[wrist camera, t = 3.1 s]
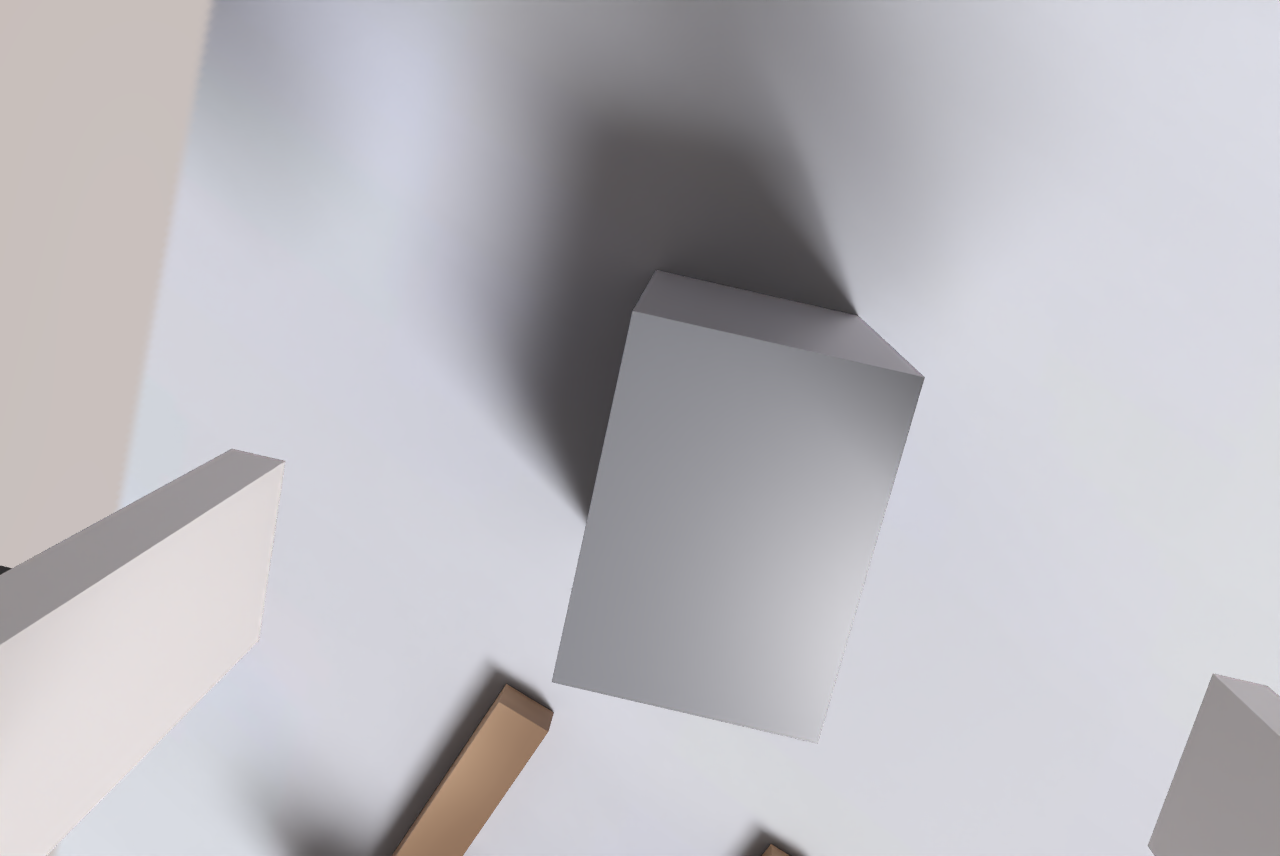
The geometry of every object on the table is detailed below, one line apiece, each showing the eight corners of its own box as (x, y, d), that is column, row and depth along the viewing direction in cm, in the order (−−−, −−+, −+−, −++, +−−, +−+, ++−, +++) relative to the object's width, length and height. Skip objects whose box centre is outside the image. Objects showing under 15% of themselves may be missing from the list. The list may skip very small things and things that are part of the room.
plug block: (596, 536, 27) (551, 681, 19) (656, 269, 25) (632, 311, 18) (786, 580, 27) (818, 743, 19) (858, 315, 25) (924, 377, 17)
